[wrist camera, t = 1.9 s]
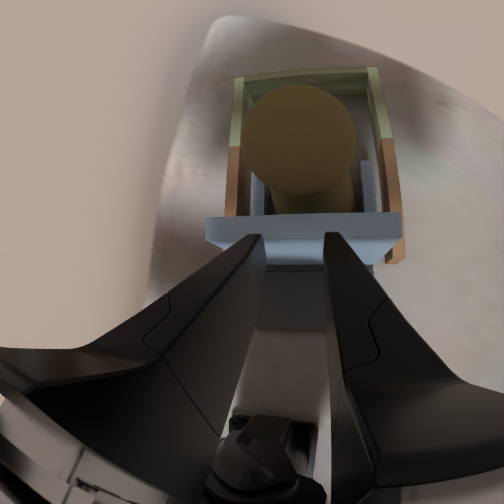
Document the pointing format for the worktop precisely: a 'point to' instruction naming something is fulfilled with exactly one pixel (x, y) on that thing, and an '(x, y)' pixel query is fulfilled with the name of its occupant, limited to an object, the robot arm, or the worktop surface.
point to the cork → (302, 150)
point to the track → (336, 85)
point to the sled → (311, 228)
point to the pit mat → (293, 301)
